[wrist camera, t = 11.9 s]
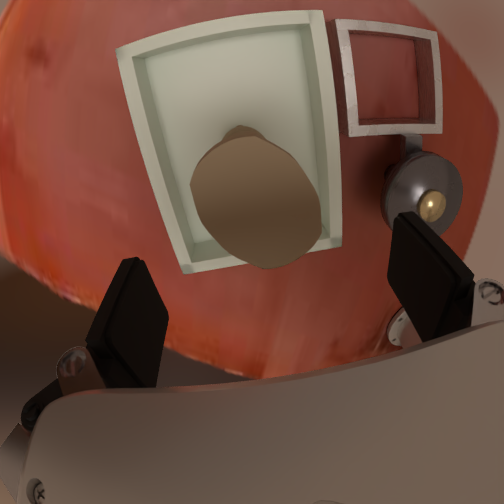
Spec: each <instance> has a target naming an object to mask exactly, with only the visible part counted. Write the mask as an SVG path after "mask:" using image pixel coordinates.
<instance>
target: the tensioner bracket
mask: <svg viewBox="0 0 504 504" xmlns="http://www.w3.org/2000/svg"><path fill="white" fill-rule="evenodd" d="M325 27H326V32H327V38H328V44H329V51H330V58H331V65H332V72H333V80H334V88H335V97H336V107H337V118H338V130H339V131H340V132H341V133H343V134H345V135H347V136H348V137H356V136H370V135H388V134H400V161H399V162H398V163H397V164H396V165H391V166H389V167H388V168H387V169H386V171H385V174H384V178H385V183H384V186H383V189H382V193H381V200H380V206H381V213H382V216H383V219H384V221H385V223H386V224H387V225H388V227H389V228H390V229H391V230H392V231H393V222H394V218H395V217H397V215H398V214H399V213H402V212H409V211H413V212H415V213H416V214H417V215H418V216H419V217H420V218H421V219H422V220H423V221H424V222H425V223H426V224H427V225H428V226H429V227H430V228H431V229H432V230H433V231H434V232H435V233H436V234H437V235H438V236H440V235H441V234H442V233H444V232H445V231H446V230H447V229H448V227H449V226H450V225H451V224H452V222H453V221H454V219H455V217H456V215H457V213H458V211H459V208H460V205H461V201H462V195H463V186H462V180H461V177H460V174H459V172H458V170H457V169H456V167H455V166H454V165H453V164H452V163H451V162H449V161H448V160H446V159H444V158H443V157H441V156H439V155H437V154H435V153H433V152H429V151H422V136H421V135H419V134H442V118H443V107H442V78H441V64H440V53H439V45H438V37H437V32H434V31H430V30H425V29H420V28H415V27H410V26H404V25H398V24H391V23H383V22H374V21H364V20H349V19H334V20H331V21H329V22H327V23H325ZM349 34H365V35H378V36H388V37H396V38H404V39H410V40H414V44H415V52H416V62H417V73H418V88H419V118H376V119H358V109H357V97H356V86H355V77H354V68H353V60H352V53H351V46H350V39H349Z"/></svg>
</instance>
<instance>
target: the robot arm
mask: <svg viewBox="0 0 504 504" xmlns="http://www.w3.org/2000/svg"><path fill="white" fill-rule="evenodd" d="M387 278H388V282H389V284H390V286H391V288H392V289H393V291H394V293H395V294H396V296H397V298H398V299H399V301H400V303H401V305H402V306H403V308H401V309H400V310H399V312H398V313H397V314H396V315H395V316H394V317H393V319H392V320H391V322H390V324H389V326H388V329H387V337H388V339H389V341H390V342H391V343H392V344H394V345H397V346H402V348H403V349H401V350H397V351H394V352H390V353H387V354H383V355H380V356H376V357H372V358H368V359H364V360H360V361H356V362H352V363H347V364H343V365H338V366H334V367H329V368H324V369H319V370H314V371H309V372H304V373H298V374H292V375H286V376H280V377H273V378H266V379H259V380H251V381H243V382H234V383H225V384H213V385H200V386H183V387H160V388H156V383H157V377H158V372H159V366H160V361H161V356H162V350H163V345H164V340H165V335H166V330H167V326H168V321H169V315H168V311H167V309H166V307H165V305H164V303H163V301H162V299H161V297H160V295H159V293H158V290H157V288H156V286H155V284H154V282H153V280H152V277H151V275H150V273H149V271H148V268H147V266H146V264H145V262H144V261H143V260H140V259H139V258H138V257H133V258H128V259H123V260H122V262H121V264H120V266H119V268H118V270H117V272H116V274H115V276H114V278H113V280H112V282H111V284H110V286H109V288H108V290H107V292H106V294H105V296H104V298H103V301H102V303H101V305H100V307H99V309H98V312H97V314H96V316H95V318H94V321H93V323H92V325H91V328H90V330H89V332H88V335H87V337H86V340H85V341H86V342H87V343H88V344H87V346H86V348H84V347H75V348H72V349H70V350H68V351H67V352H66V353H64V354H63V356H62V357H61V358H60V359H59V361H58V364H57V368H56V372H57V377H58V378H57V379H56V380H54V381H53V382H52V383H50V384H49V385H48V386H47V387H45V388H44V389H43V390H42V391H40V392H39V393H38V394H36V395H35V396H34V397H32V398H31V399H30V400H29V401H28V402H27V403H26V404H25V406H24V407H23V410H22V413H21V421H22V425H21V424H19V423H18V424H17V425H16V426H15V428H14V429H13V430H12V432H11V433H10V434H9V436H8V437H7V438H6V440H5V441H4V443H3V444H2V445H1V447H0V478H1V479H2V481H3V483H4V485H5V486H6V488H7V489H8V491H9V492H10V494H11V495H12V497H13V499H14V500H15V502H16V503H17V504H504V286H503V285H502V284H501V283H499V282H498V281H496V280H493V279H488V278H485V279H481V280H479V281H478V282H477V283H475V282H474V281H473V278H474V274H473V273H472V271H471V270H470V269H469V268H468V267H467V266H466V265H465V263H464V262H463V261H462V260H461V259H460V258H459V257H458V256H457V255H456V254H455V252H454V251H453V250H452V249H451V248H450V247H449V246H448V245H447V244H446V243H445V242H444V241H443V240H442V239H441V238H440V237H439V236H438V235H437V234H436V233H435V232H434V231H433V230H432V229H431V228H430V227H429V226H428V225H427V224H426V223H425V222H424V221H423V220H422V219H421V218H420V217H419V216H418V215H417V214H416V213H415V212H413V211H409V212H402V213H399V214H398V215H397V217H395V218H394V222H393V232H392V242H391V250H390V258H389V266H388V273H387Z"/></svg>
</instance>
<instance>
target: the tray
mask: <svg viewBox="0 0 504 504" xmlns="http://www.w3.org/2000/svg"><path fill="white" fill-rule="evenodd" d="M115 51H116V56H117V60H118V65H119V69H120V74H121V78H122V82H123V87H124V91H125V95H126V99H127V103H128V107H129V110H130V114H131V118H132V122H133V125H134V129H135V132H136V136H137V139H138V143H139V146H140V150H141V153H142V156H143V160H144V163H145V166H146V169H147V173H148V176H149V179H150V182H151V185H152V188H153V191H154V194H155V197H156V200H157V203H158V206H159V209H160V212H161V215H162V218H163V221H164V224H165V226H166V229H167V232H168V235H169V237H170V240H171V243H172V246H173V248H174V251H175V254H176V256H177V259H178V262H179V264H180V267H181V269H182V272H183V274H190V273H195V272H201V271H207V270H213V269H218V268H224V267H230V266H236V265H241V264H247V262H245V261H242V260H240V259H238V258H236V257H234V256H233V255H231V254H229V253H228V252H227V251H226V250H225V249H224V248H222V247H221V245H220V244H219V243H218V242H217V241H216V240H215V239H214V238H213V237H212V236H211V235H210V233H209V232H208V231H207V230H206V228H205V227H204V226H203V224H202V223H201V221H200V218H199V216H198V214H197V210H196V207H195V204H194V200H193V196H192V192H191V188H190V185H189V184H190V181H191V178H192V175H193V172H194V170H195V168H196V166H197V164H198V162H199V160H200V159H201V158H202V157H203V156H204V154H205V153H206V152H207V151H208V150H209V149H211V148H212V147H213V146H214V145H216V144H217V143H219V142H220V141H222V139H223V137H224V136H225V134H226V133H228V132H229V131H230V130H231V129H233V128H236V126H238V125H242V126H247V127H251V128H253V129H255V130H257V131H258V132H260V133H261V134H262V135H263V136H264V137H265V138H266V139H267V140H268V141H270V142H272V143H274V144H276V145H277V146H279V147H281V148H282V149H284V150H285V151H287V152H288V153H290V154H291V155H292V156H293V158H294V159H295V160H296V161H297V162H298V164H299V165H300V166H301V168H302V169H303V171H304V172H305V174H306V175H307V177H308V179H309V180H310V182H311V183H312V185H313V186H314V188H315V190H316V193H317V195H318V197H319V202H320V207H321V222H322V233H321V235H320V237H319V239H318V241H317V242H316V243H315V245H314V246H313V247H312V248H311V249H310V250H309V251H308V252H313V251H319V250H324V249H330V248H335V247H340V246H342V187H341V162H340V144H339V130H338V118H337V107H336V97H335V88H334V80H333V72H332V65H331V58H330V51H329V44H328V38H327V32H326V27H325V21H324V16H323V11H322V10H296V11H278V12H266V13H256V14H248V15H240V16H234V17H227V18H222V19H216V20H211V21H206V22H202V23H197V24H193V25H189V26H185V27H181V28H177V29H173V30H170V31H166V32H163V33H159V34H156V35H153V36H150V37H147V38H144V39H141V40H138V41H135V42H132V43H130V44H127V45H124V46H122V47H119V48H117V49H115ZM308 252H307V253H308Z"/></svg>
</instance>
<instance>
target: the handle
mask: <svg viewBox="0 0 504 504" xmlns="http://www.w3.org/2000/svg"><path fill="white" fill-rule="evenodd" d="M189 185H190V188H191V192H192V196H193V200H194V204H195V207H196V210H197V214H198V216H199V218H200V221H201V223H202V224H203V226H204V227H205V228H206V230H207V231H208V232H209V233H210V235H211V236H212V237H213V238H214V239H215V240H216V241H217V242H218V243H219V244H220V245H221V247H222V248H224V249H225V250H226V251H227V252H228V253H229V254H231V255H233V256H234V257H236V258H238V259H240V260H242V261H245V262H247V263H249V264H252V265H254V266H257V267H260V268H262V269H272V268H277V267H281V266H284V265H286V264H289V263H291V262H293V261H295V260H297V259H298V258H300V257H301V256H303V255H304V254H305V253H307V252H308V251H309V250H310V249H311V248H312V247H313V246H314V245H315V243H316V242H317V241H318V239H319V237H320V235H321V233H322V222H321V207H320V202H319V197H318V195H317V193H316V190H315V188H314V186H313V185H312V183H311V182H310V180H309V179H308V177H307V175H306V174H305V172H304V171H303V169H302V168H301V166H300V165H299V164H298V162H297V161H296V160H295V159H294V158H293V156H292V155H291V154H290V153H288V152H287V151H285V150H284V149H282V148H281V147H279V146H277V145H276V144H274V143H272V142H270V141H268V140H267V139H266V138H265V137H264V136H263V135H262V134H261V133H260V132H258V131H257V130H255V129H253V128H251V127H247V126H242V125H238V126H236V128H233V129H231V130H230V131H229V132H228V133H226V134H225V136H224V137H223V139H222V141H220V142H219V143H217V144H216V145H214V146H213V147H212V148H211V149H209V150H208V151H207V152H206V153H205V154H204V156H203V157H202V158H201V159H200V160H199V162H198V164H197V166H196V168H195V170H194V172H193V175H192V178H191V181H190V184H189Z"/></svg>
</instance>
